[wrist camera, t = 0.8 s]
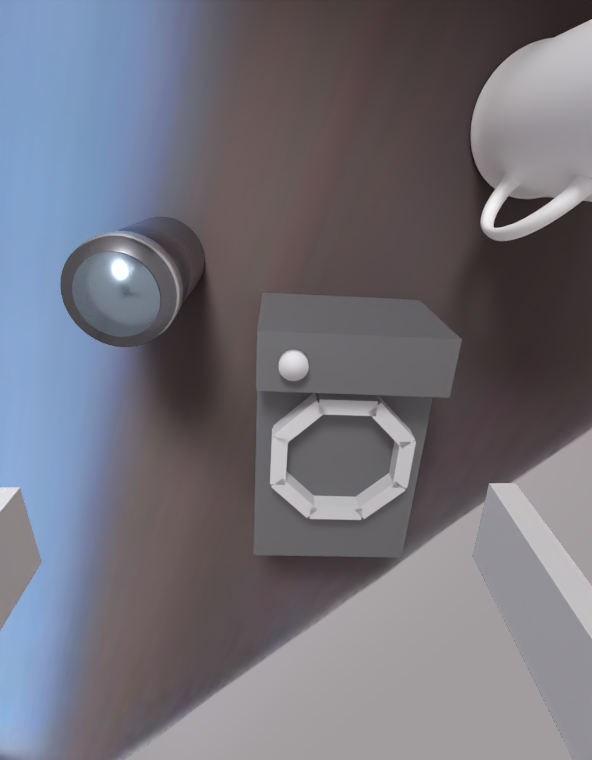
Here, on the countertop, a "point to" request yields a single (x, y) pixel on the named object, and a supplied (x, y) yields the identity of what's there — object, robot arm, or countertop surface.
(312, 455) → the camera body
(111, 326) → the lens
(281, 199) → the countertop surface
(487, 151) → the mug
